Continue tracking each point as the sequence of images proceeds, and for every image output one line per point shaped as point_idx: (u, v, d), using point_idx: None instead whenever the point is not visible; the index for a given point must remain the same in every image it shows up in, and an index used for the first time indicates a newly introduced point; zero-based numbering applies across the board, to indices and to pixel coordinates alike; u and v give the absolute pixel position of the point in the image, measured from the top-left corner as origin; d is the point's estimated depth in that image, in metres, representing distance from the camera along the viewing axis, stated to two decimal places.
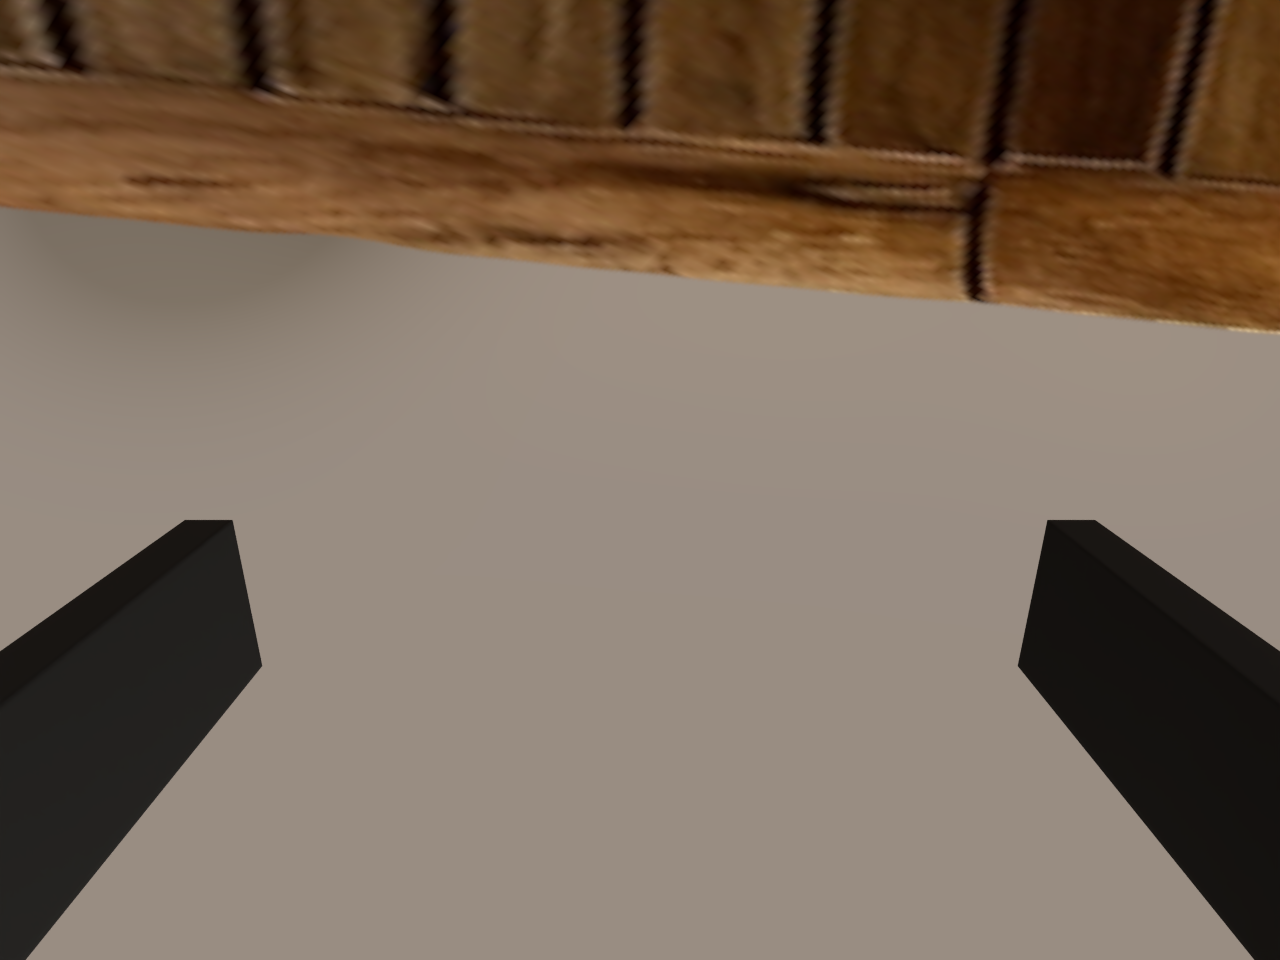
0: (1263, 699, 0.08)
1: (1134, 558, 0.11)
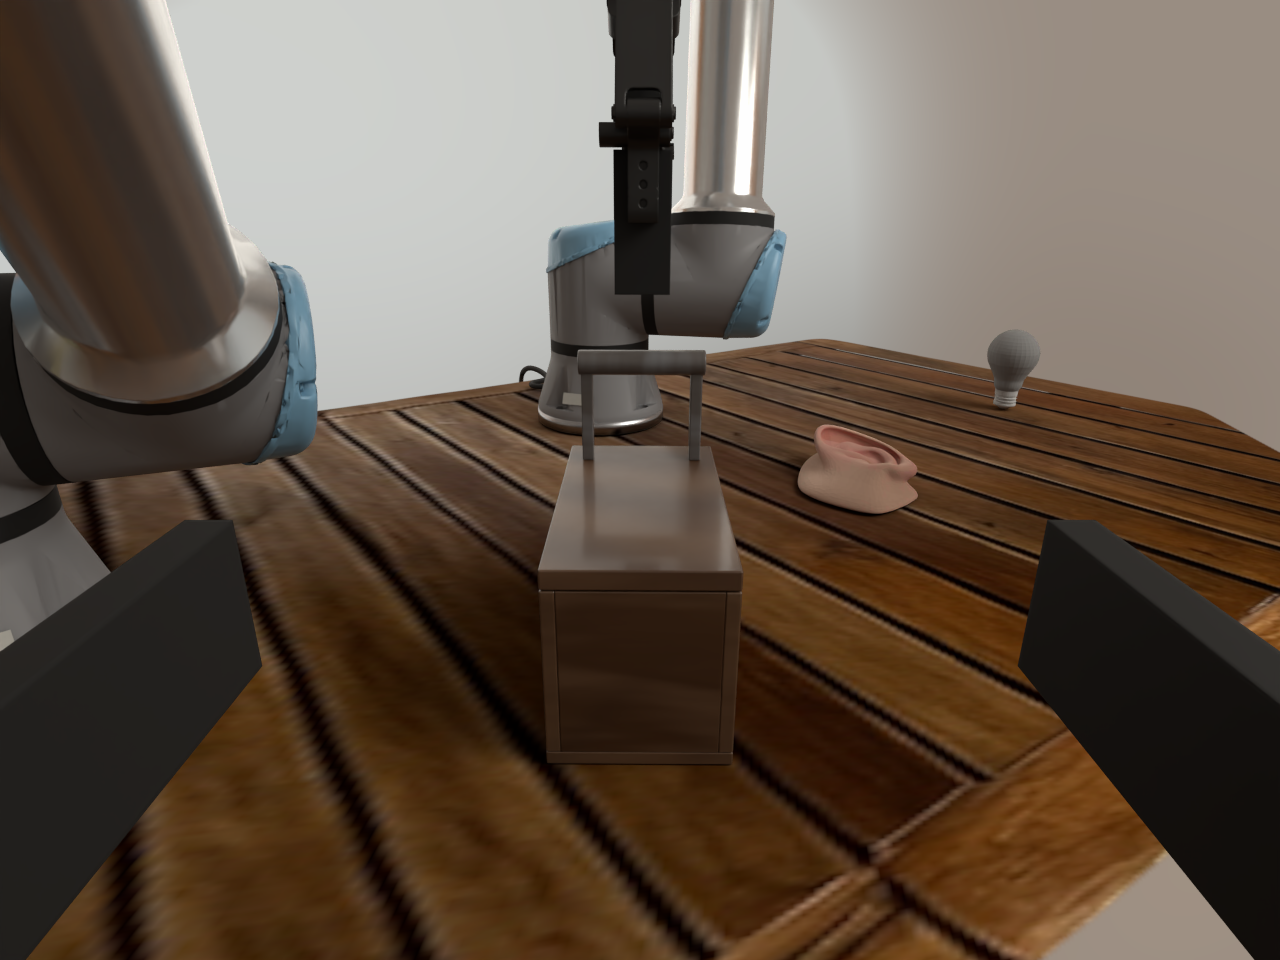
0: (1264, 699, 0.08)
1: (1134, 558, 0.11)
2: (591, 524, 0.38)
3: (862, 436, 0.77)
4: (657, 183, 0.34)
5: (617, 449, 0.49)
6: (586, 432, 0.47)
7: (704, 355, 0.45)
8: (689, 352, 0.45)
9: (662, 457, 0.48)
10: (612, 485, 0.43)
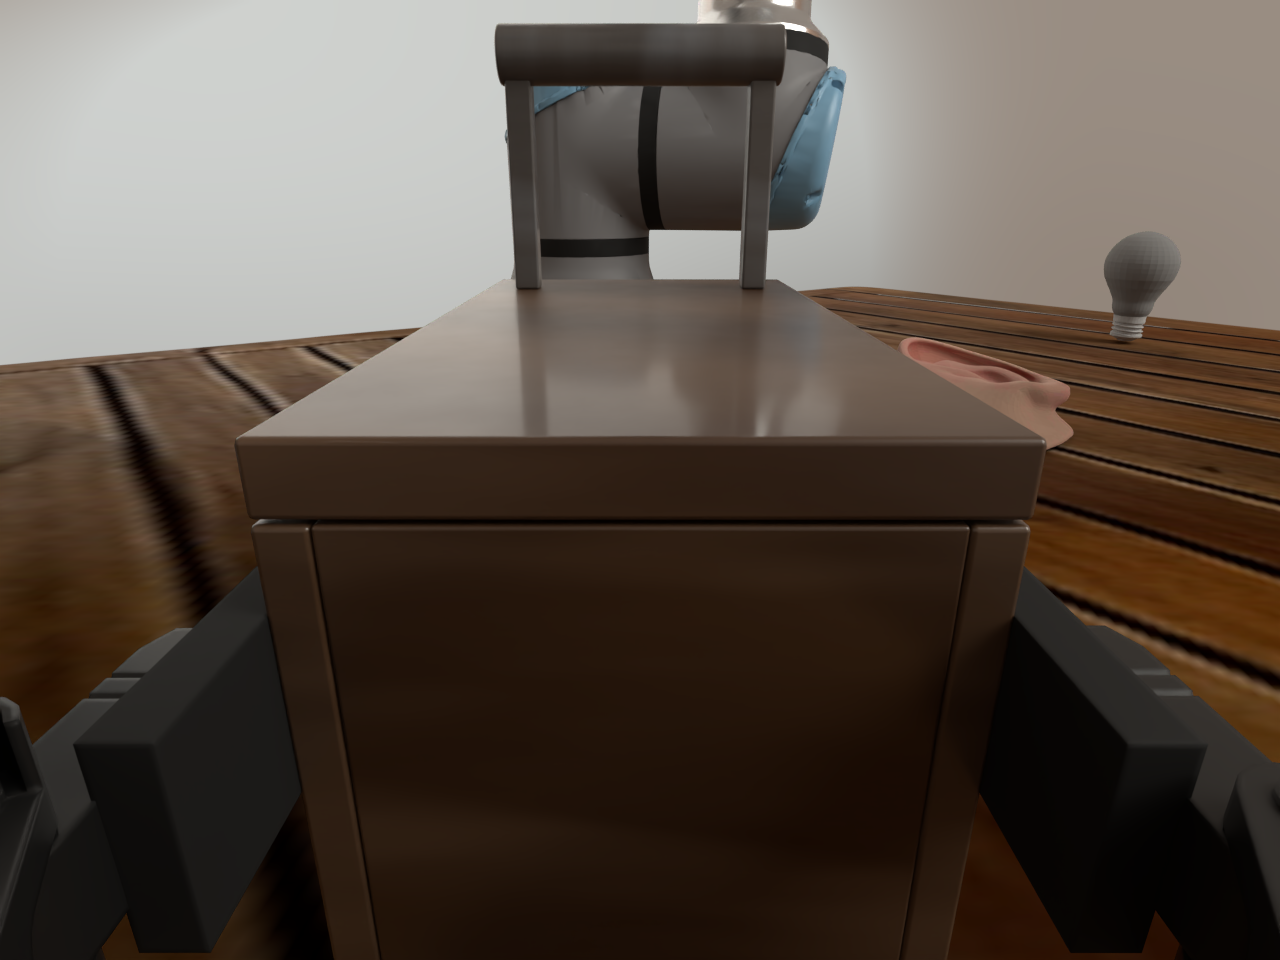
0: (1023, 633, 0.09)
1: None
2: (498, 352, 0.13)
3: (968, 353, 0.52)
4: None
5: (591, 281, 0.24)
6: (521, 224, 0.22)
7: (783, 28, 0.20)
8: (747, 23, 0.20)
9: (685, 287, 0.23)
10: (571, 309, 0.18)
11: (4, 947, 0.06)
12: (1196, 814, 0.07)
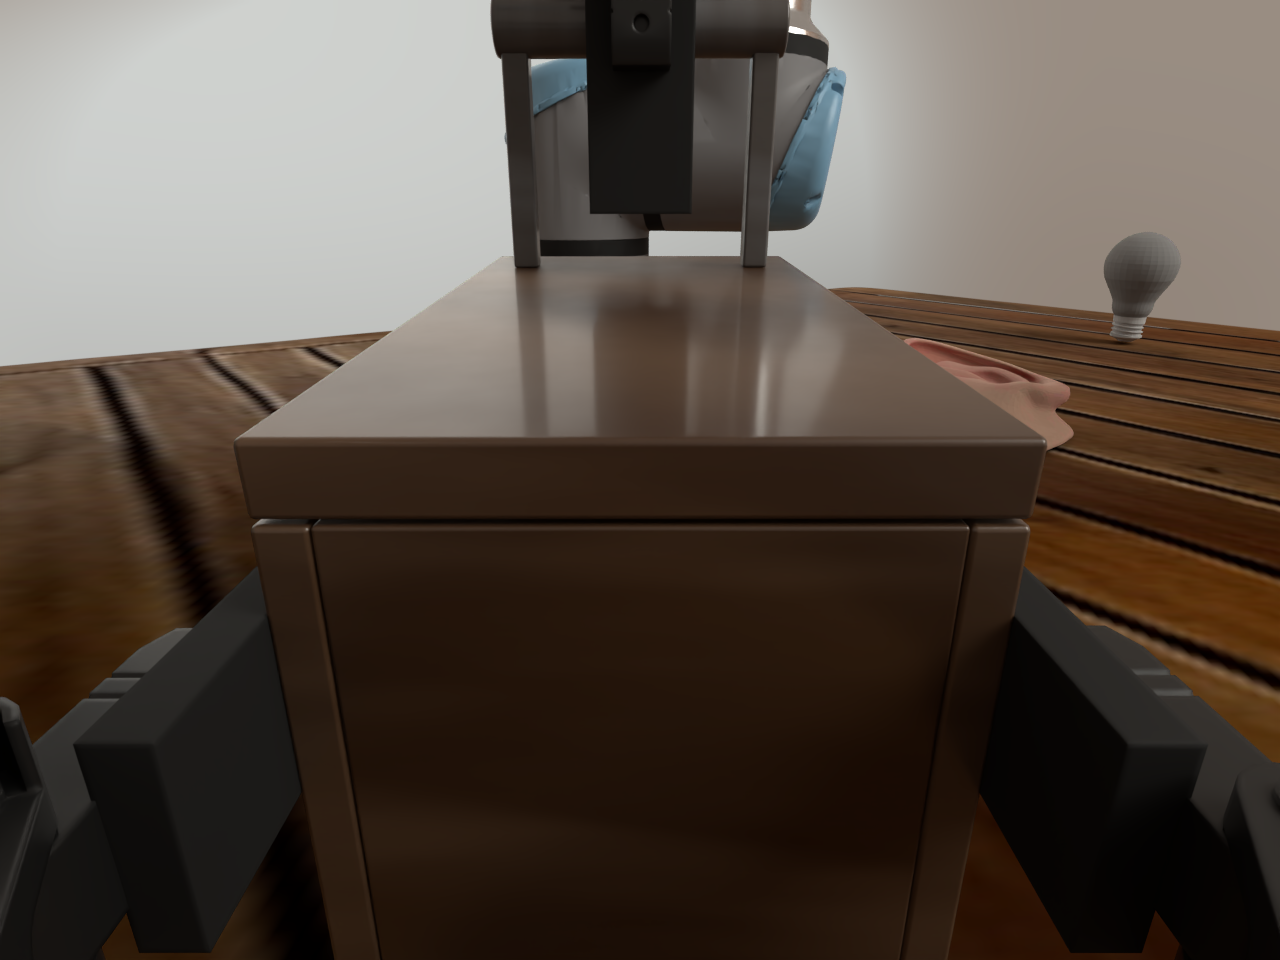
0: (1022, 633, 0.09)
1: None
2: (497, 340, 0.13)
3: (968, 354, 0.52)
4: None
5: (591, 259, 0.24)
6: (518, 201, 0.21)
7: None
8: None
9: (685, 265, 0.22)
10: (570, 291, 0.18)
11: (5, 947, 0.06)
12: (1197, 815, 0.07)
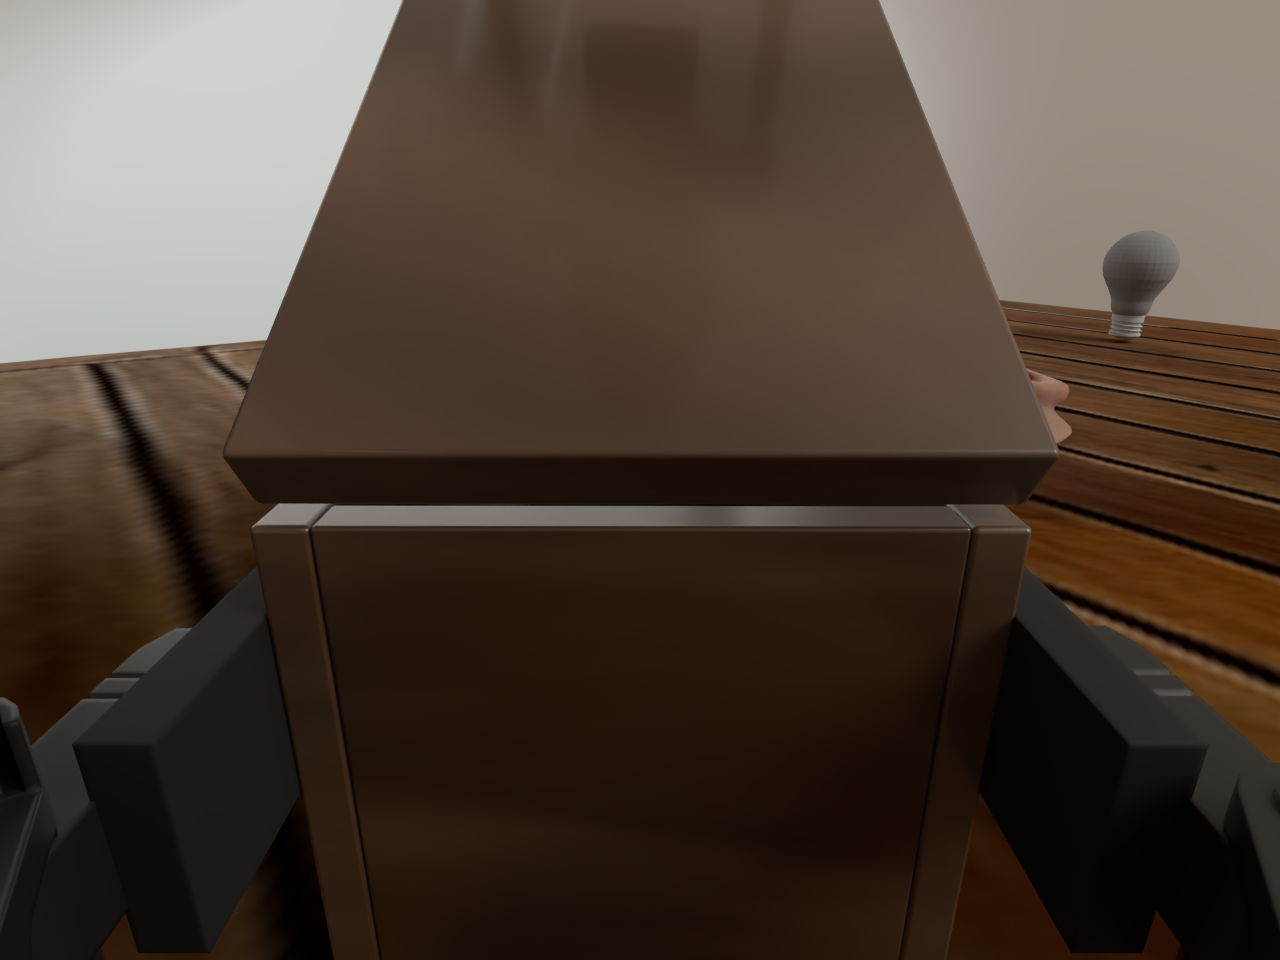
0: (1023, 633, 0.09)
1: None
2: (472, 181, 0.11)
3: None
4: None
5: None
6: None
7: None
8: None
9: None
10: (552, 11, 0.14)
11: (3, 947, 0.06)
12: (1197, 815, 0.07)
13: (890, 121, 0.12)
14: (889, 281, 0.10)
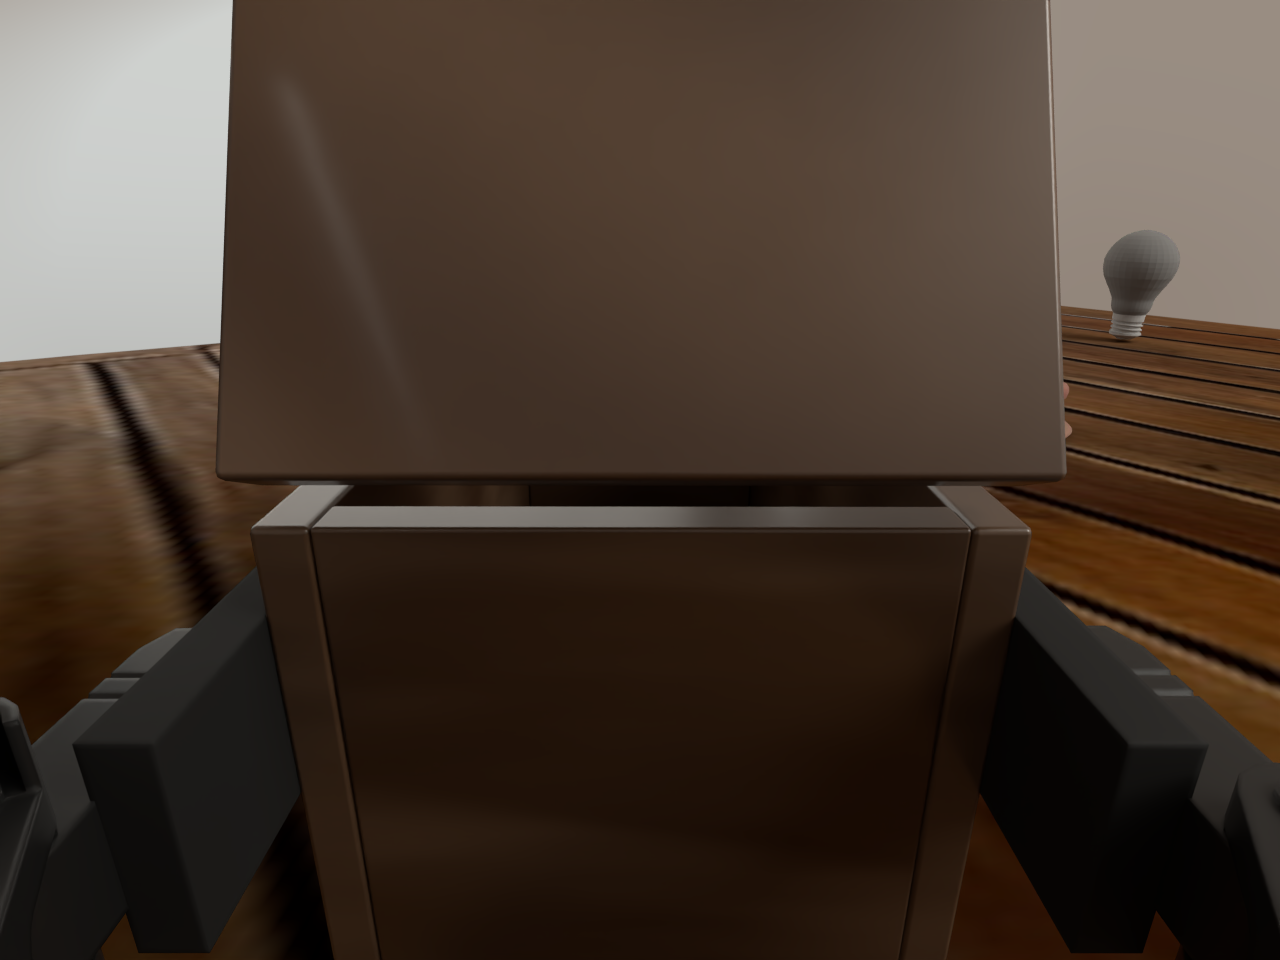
0: (1023, 633, 0.09)
1: None
2: (420, 30, 0.08)
3: None
4: None
5: None
6: None
7: None
8: None
9: None
10: None
11: (3, 947, 0.06)
12: (1196, 815, 0.07)
13: None
14: (936, 222, 0.08)
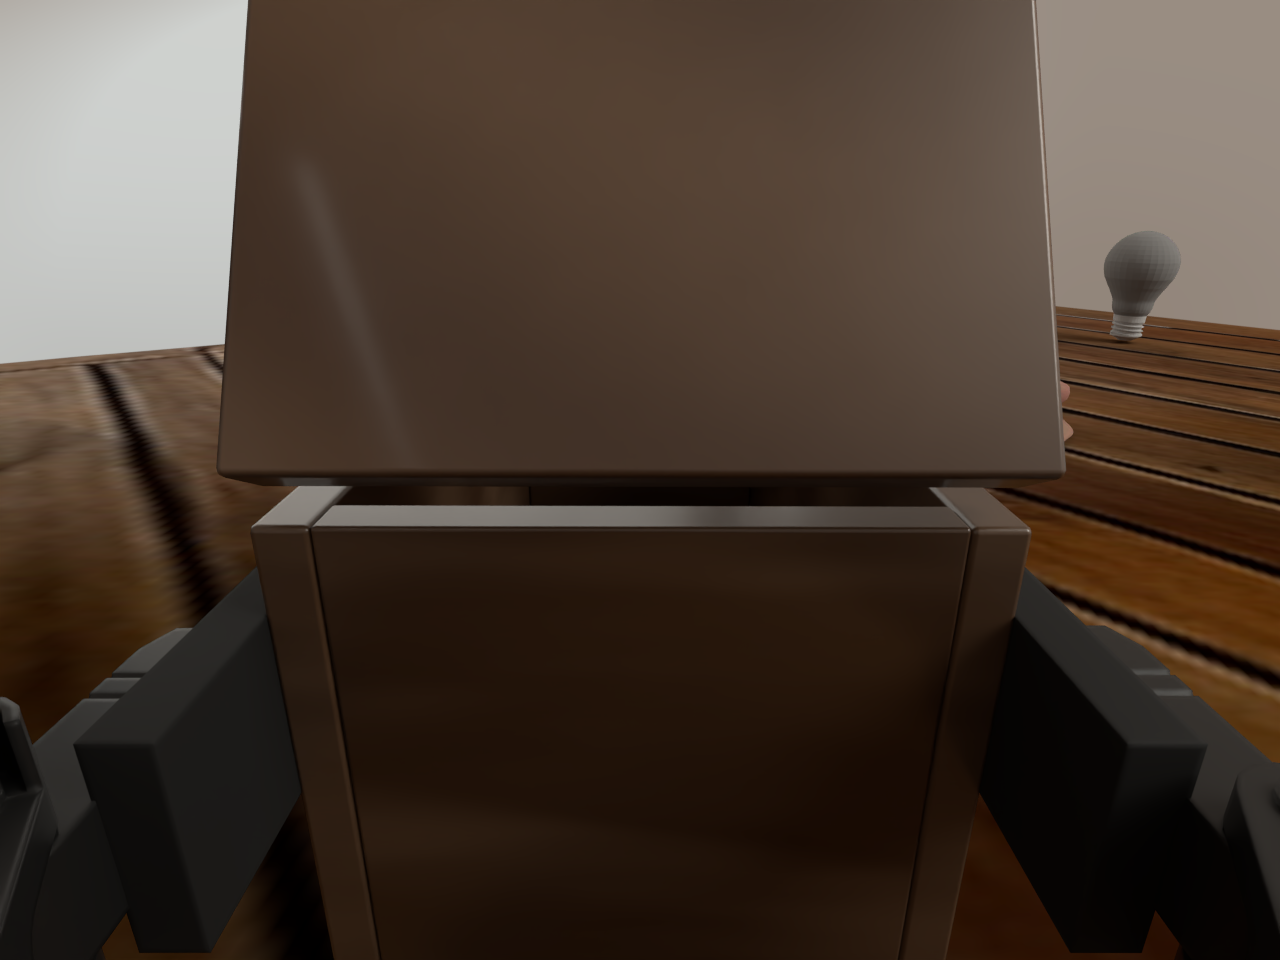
0: (1023, 633, 0.09)
1: None
2: (426, 43, 0.09)
3: None
4: None
5: None
6: None
7: None
8: None
9: None
10: None
11: (4, 947, 0.06)
12: (1196, 814, 0.07)
13: None
14: (930, 226, 0.08)
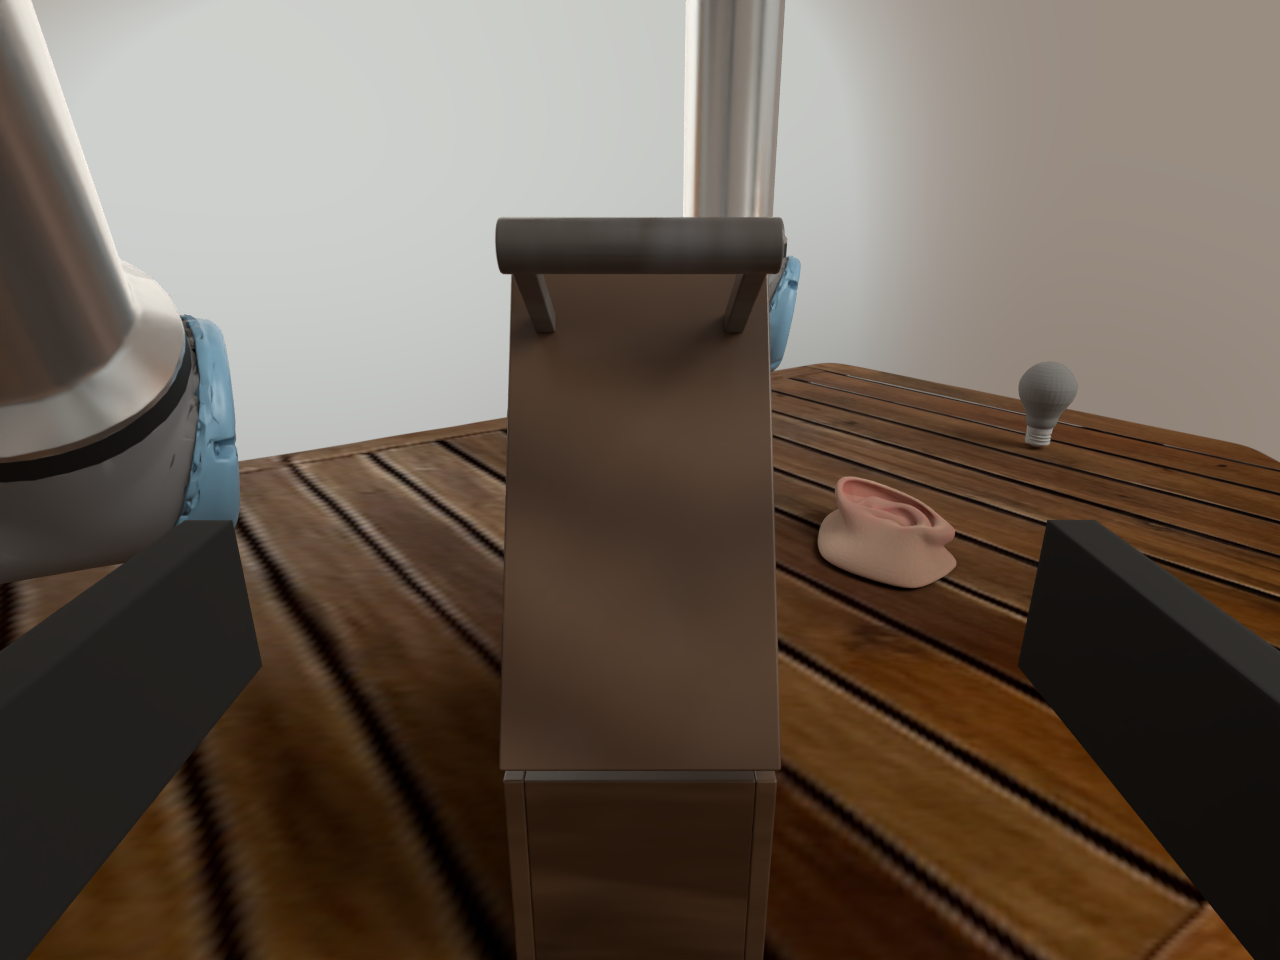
0: (1263, 699, 0.08)
1: (1134, 558, 0.11)
2: (566, 614, 0.25)
3: (889, 490, 0.68)
4: None
5: (596, 274, 0.27)
6: (535, 314, 0.25)
7: (780, 254, 0.20)
8: (747, 243, 0.20)
9: (677, 319, 0.27)
10: (592, 455, 0.26)
11: None
12: None
13: (757, 565, 0.25)
14: (737, 682, 0.25)
